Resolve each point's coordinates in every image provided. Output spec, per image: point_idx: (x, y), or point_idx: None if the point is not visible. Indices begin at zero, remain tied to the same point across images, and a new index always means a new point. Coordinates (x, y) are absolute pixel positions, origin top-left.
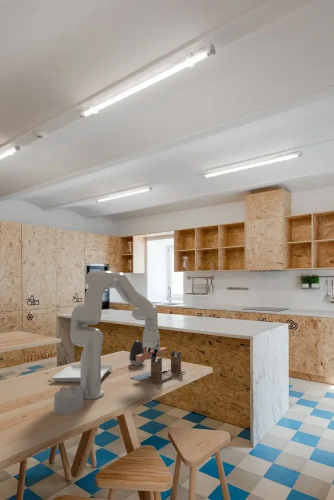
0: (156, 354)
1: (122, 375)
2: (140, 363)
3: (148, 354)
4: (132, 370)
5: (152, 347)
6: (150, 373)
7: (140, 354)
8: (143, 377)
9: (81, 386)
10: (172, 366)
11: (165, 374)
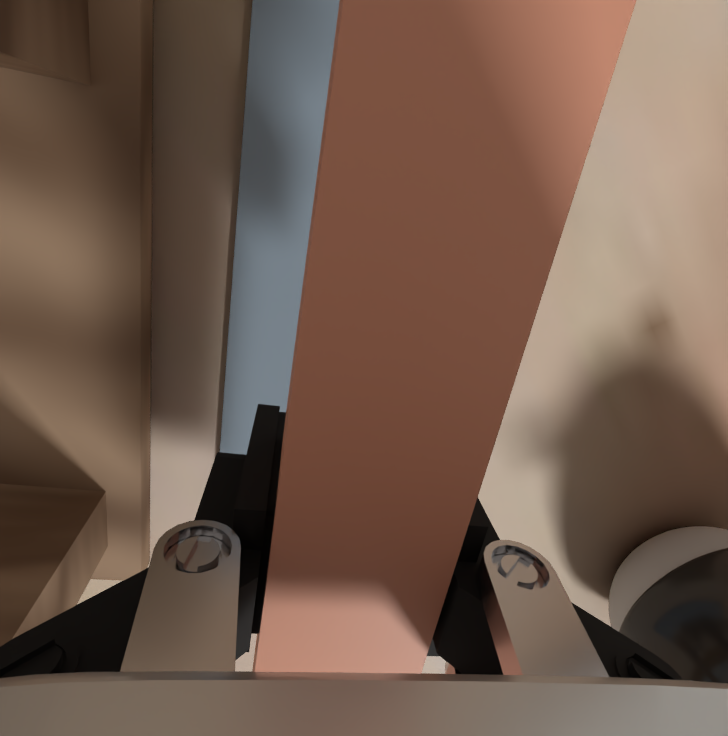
0: None
1: (699, 83)
2: (628, 566)
3: (301, 331)
4: (639, 366)
5: (49, 704)
6: None
7: (580, 1)
8: (321, 89)
9: None
10: (39, 540)
11: (59, 331)
